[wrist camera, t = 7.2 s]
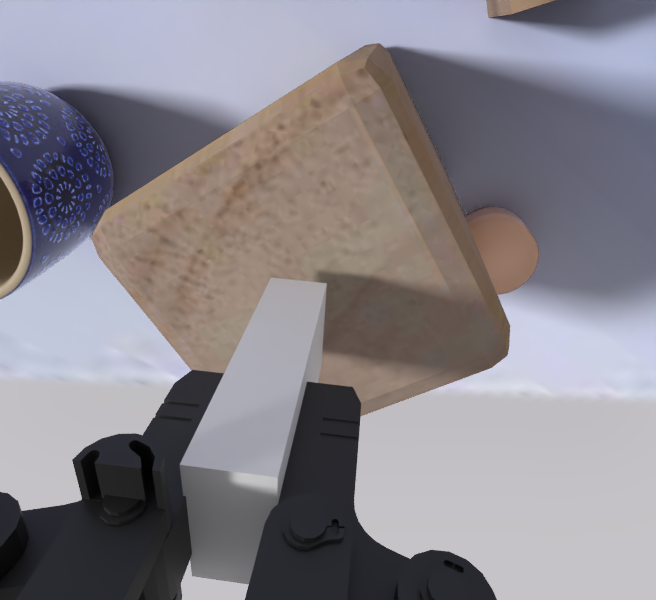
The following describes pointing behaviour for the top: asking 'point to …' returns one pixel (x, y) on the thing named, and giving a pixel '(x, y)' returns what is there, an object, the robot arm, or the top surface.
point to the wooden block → (317, 238)
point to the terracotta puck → (504, 247)
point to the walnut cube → (511, 6)
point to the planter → (46, 182)
